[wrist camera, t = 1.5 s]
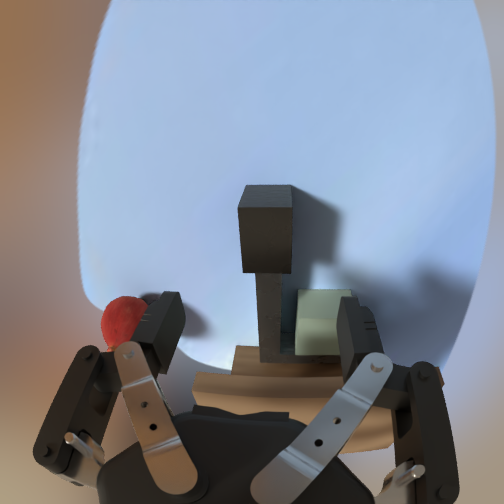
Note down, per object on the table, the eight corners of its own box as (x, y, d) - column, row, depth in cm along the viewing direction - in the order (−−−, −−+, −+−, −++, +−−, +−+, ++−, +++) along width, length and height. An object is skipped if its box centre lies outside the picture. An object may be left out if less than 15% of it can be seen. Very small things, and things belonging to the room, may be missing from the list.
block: (297, 288, 26) (299, 318, 23) (350, 288, 26) (357, 318, 22) (295, 325, 29) (295, 355, 26) (341, 325, 28) (346, 354, 25)
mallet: (246, 185, 21) (237, 207, 18) (393, 188, 20) (415, 211, 16) (255, 341, 31) (251, 373, 27) (359, 340, 29) (366, 372, 26)
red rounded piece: (174, 301, 29) (148, 361, 22) (155, 327, 31) (130, 381, 25) (127, 271, 27) (90, 325, 21) (113, 301, 30) (82, 352, 23)
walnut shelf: (226, 270, 26) (191, 390, 15) (397, 272, 24) (444, 383, 14) (237, 353, 32) (219, 450, 22) (371, 353, 30) (387, 448, 20)
